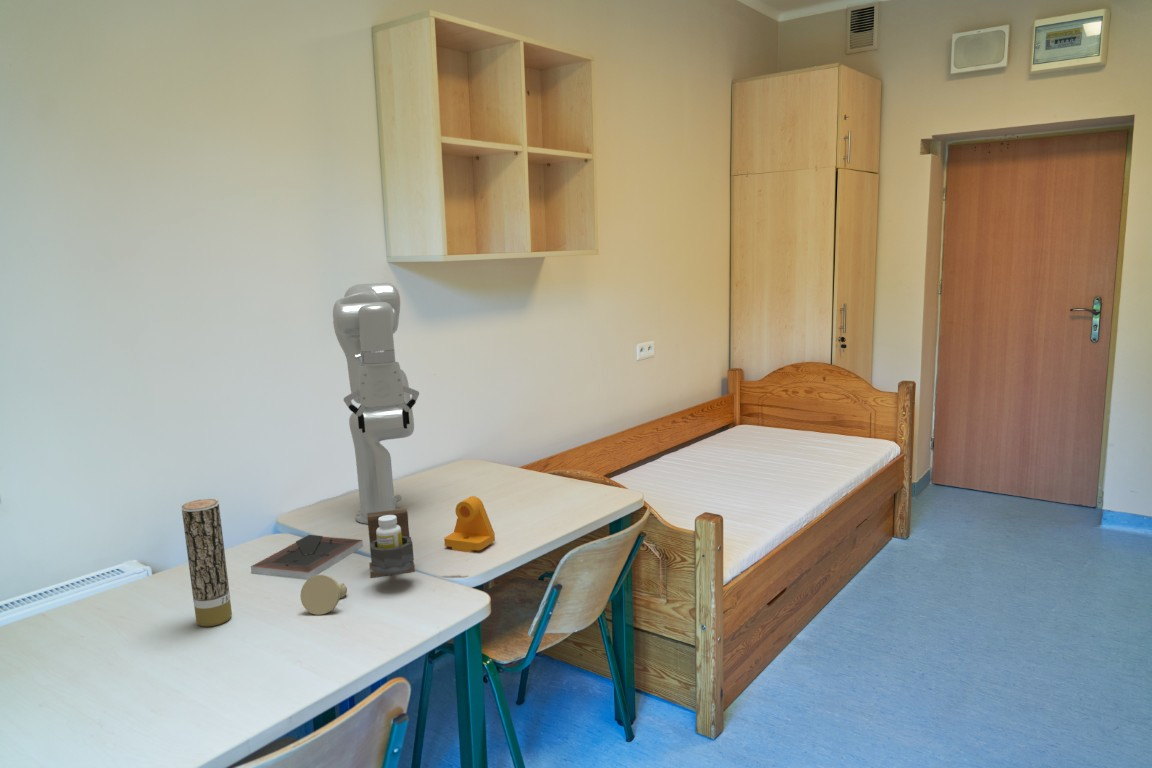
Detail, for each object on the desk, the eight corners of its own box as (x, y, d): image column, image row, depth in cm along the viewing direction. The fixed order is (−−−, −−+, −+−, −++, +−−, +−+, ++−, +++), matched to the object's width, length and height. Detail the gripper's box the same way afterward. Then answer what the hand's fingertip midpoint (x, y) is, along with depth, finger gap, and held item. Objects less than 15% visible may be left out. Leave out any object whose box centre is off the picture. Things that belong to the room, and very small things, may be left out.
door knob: (317, 572, 176) (353, 570, 176) (317, 609, 175) (353, 608, 175) (300, 575, 167) (338, 574, 166) (300, 615, 165) (338, 614, 165)
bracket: (443, 549, 200) (439, 502, 199) (459, 539, 207) (455, 494, 205) (480, 553, 196) (477, 506, 194) (495, 543, 203) (492, 498, 201)
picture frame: (309, 543, 210) (251, 575, 190) (308, 534, 210) (250, 565, 190) (363, 548, 205) (309, 581, 185) (362, 539, 204) (308, 571, 184)
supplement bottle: (395, 553, 182) (391, 512, 180) (408, 559, 178) (404, 516, 176) (374, 560, 178) (370, 518, 177) (387, 566, 174) (383, 523, 173)
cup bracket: (369, 568, 190) (364, 511, 187) (412, 562, 192) (408, 506, 190) (372, 596, 173) (366, 535, 171) (419, 589, 176) (414, 528, 174)
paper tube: (197, 631, 161) (181, 511, 157) (195, 618, 167) (180, 502, 163) (233, 622, 164) (219, 505, 160) (231, 610, 170) (217, 496, 166)
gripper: (339, 362, 181) (346, 436, 184) (417, 356, 185) (423, 429, 188) (340, 359, 188) (346, 430, 191) (414, 353, 193) (420, 423, 195)
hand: (384, 429), depth 189 cm, fingers open, 9 cm apart
